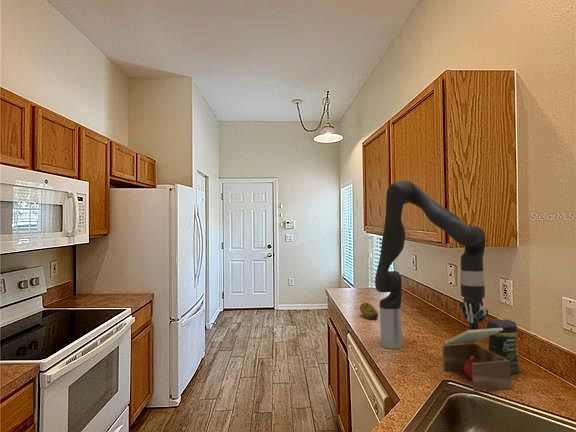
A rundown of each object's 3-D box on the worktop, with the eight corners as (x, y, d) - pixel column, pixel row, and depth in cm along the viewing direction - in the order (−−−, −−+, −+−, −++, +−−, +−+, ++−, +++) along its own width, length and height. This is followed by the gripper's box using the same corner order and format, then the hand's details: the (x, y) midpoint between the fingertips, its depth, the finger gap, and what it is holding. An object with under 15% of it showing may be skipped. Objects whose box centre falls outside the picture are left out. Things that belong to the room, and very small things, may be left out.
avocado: (365, 321, 203) (364, 306, 203) (358, 315, 215) (358, 301, 216) (379, 320, 203) (379, 306, 203) (372, 314, 216) (372, 301, 216)
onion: (477, 375, 129) (476, 352, 129) (486, 382, 123) (485, 358, 123) (461, 376, 129) (460, 353, 129) (470, 383, 123) (469, 359, 123)
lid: (443, 345, 134) (442, 342, 135) (474, 342, 136) (473, 339, 136) (468, 332, 119) (467, 329, 120) (503, 330, 121) (502, 327, 121)
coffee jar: (498, 376, 128) (496, 323, 128) (483, 367, 135) (482, 317, 136) (523, 374, 129) (521, 322, 129) (508, 365, 136) (506, 316, 137)
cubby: (443, 370, 134) (442, 345, 134) (475, 367, 136) (474, 343, 136) (475, 392, 116) (473, 364, 116) (511, 388, 118) (510, 361, 118)
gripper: (495, 286, 120) (497, 338, 120) (470, 279, 133) (471, 326, 133) (474, 287, 119) (476, 339, 119) (451, 280, 132) (452, 328, 132)
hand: (473, 332), depth 126 cm, fingers closed
